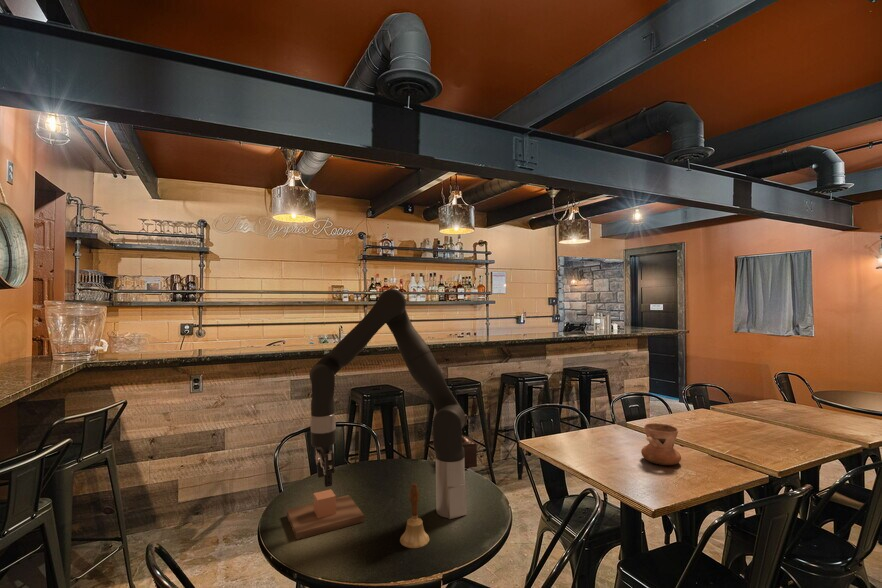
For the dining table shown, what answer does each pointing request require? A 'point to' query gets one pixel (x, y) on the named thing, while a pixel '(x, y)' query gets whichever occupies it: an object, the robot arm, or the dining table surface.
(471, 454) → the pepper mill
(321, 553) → the dining table surface
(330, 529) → the walnut board
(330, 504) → the terracotta cube
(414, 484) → the hand bell
